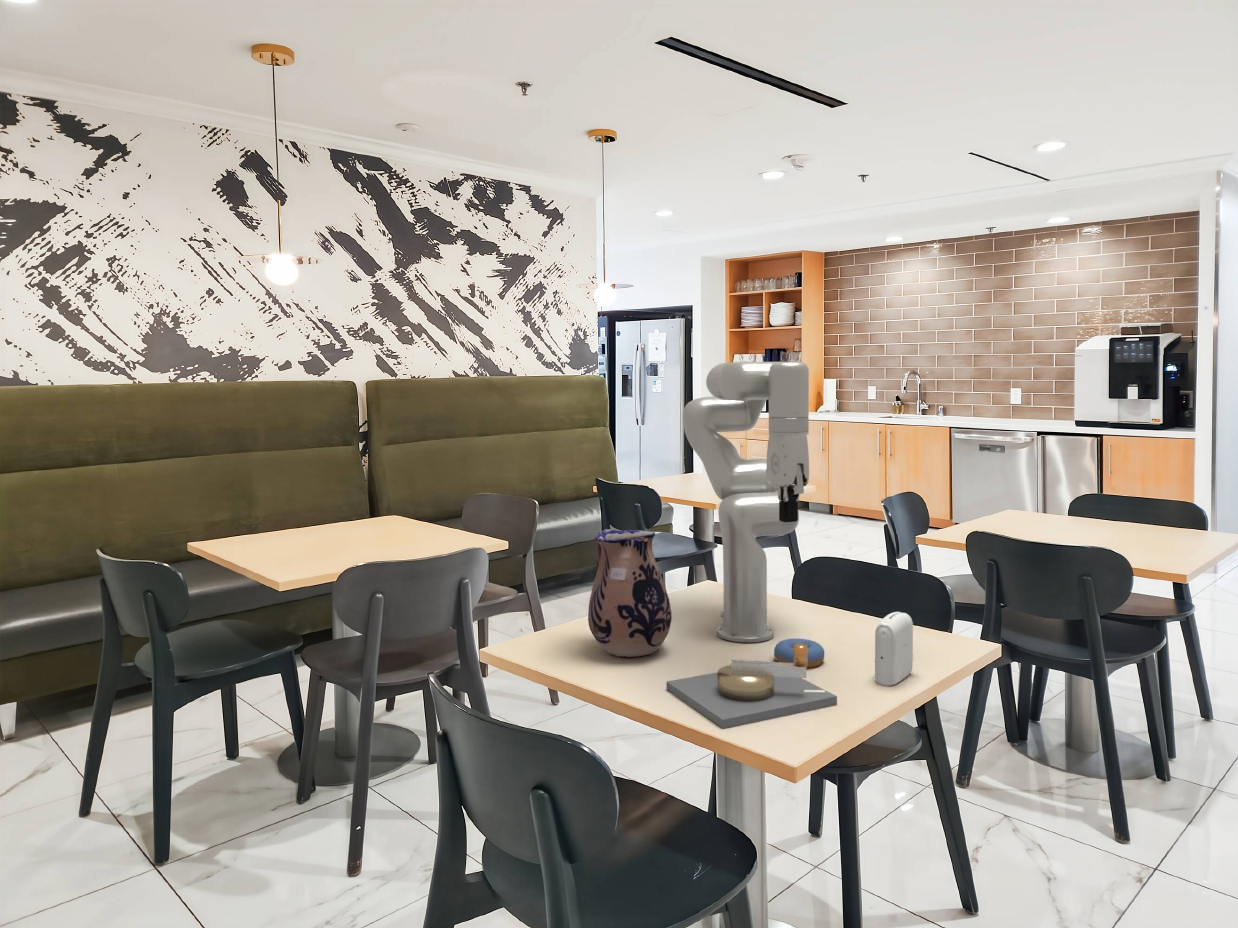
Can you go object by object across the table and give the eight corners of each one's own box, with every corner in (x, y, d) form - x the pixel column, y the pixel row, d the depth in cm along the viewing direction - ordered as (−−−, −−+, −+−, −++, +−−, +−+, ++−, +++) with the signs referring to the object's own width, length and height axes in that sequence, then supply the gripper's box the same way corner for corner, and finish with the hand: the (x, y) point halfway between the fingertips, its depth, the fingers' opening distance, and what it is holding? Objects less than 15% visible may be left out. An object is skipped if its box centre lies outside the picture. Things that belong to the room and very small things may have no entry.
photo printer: (893, 688, 157) (894, 621, 155) (871, 683, 159) (872, 618, 158) (915, 672, 164) (916, 609, 163) (893, 668, 167) (894, 606, 166)
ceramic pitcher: (625, 671, 168) (623, 545, 166) (562, 646, 185) (559, 532, 182) (689, 651, 179) (688, 534, 177) (624, 630, 196) (622, 522, 193)
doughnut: (793, 672, 165) (794, 648, 165) (763, 659, 175) (764, 637, 174) (834, 669, 170) (835, 646, 170) (803, 657, 179) (804, 635, 179)
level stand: (666, 689, 158) (666, 680, 158) (771, 670, 167) (771, 661, 167) (722, 728, 140) (722, 718, 140) (836, 704, 149) (837, 694, 149)
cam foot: (714, 698, 148) (714, 650, 148) (720, 678, 158) (719, 633, 157) (807, 703, 145) (807, 654, 144) (807, 683, 155) (807, 637, 154)
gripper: (754, 425, 171) (755, 516, 173) (787, 429, 156) (787, 528, 158) (789, 424, 173) (789, 514, 174) (824, 428, 158) (824, 526, 160)
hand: (788, 521), depth 166 cm, fingers closed
